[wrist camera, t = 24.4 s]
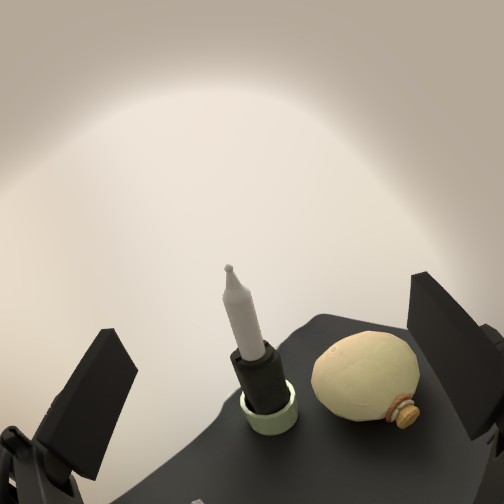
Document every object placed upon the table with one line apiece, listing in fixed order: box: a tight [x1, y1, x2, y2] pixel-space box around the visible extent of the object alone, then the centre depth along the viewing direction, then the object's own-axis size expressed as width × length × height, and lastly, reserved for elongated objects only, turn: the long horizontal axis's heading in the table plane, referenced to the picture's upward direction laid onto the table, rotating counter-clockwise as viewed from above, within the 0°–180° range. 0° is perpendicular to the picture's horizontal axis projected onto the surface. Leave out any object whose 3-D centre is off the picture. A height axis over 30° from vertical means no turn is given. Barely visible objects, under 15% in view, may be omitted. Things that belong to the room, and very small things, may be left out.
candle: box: [223, 264, 290, 415], centre depth 32 cm, size 5×5×25 cm
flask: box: [311, 331, 420, 429], centre depth 33 cm, size 9×16×18 cm
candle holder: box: [240, 380, 298, 435], centre depth 36 cm, size 8×8×5 cm
